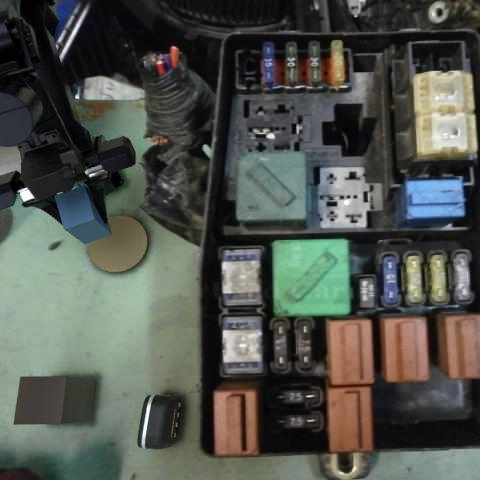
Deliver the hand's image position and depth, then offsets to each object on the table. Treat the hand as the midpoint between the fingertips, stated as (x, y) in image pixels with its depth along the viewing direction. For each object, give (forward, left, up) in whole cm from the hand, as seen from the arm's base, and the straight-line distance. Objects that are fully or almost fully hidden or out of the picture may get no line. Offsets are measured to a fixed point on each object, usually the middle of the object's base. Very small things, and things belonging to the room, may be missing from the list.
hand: (91, 228), depth 74 cm
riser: (+16, -17, -13) cm, 27 cm away
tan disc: (-1, 0, -13) cm, 14 cm away
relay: (-1, 0, -2) cm, 2 cm away
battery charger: (+27, -7, -14) cm, 31 cm away
